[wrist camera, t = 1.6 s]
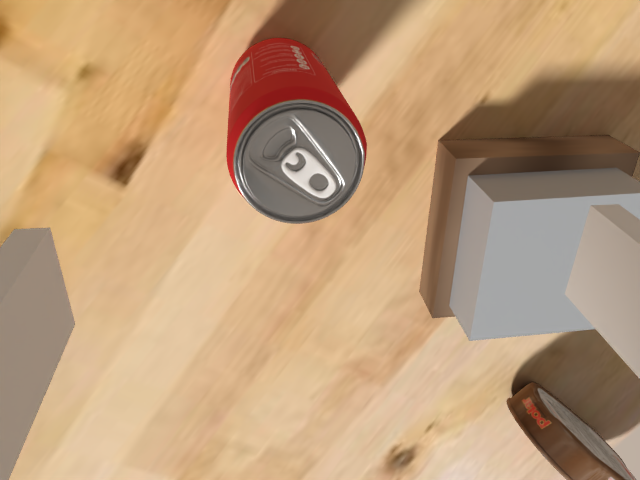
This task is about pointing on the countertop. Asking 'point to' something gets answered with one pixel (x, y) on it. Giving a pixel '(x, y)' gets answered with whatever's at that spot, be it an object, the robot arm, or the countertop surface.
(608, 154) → the tower base
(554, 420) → the tin
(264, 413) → the countertop surface
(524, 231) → the tower top
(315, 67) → the beverage can
